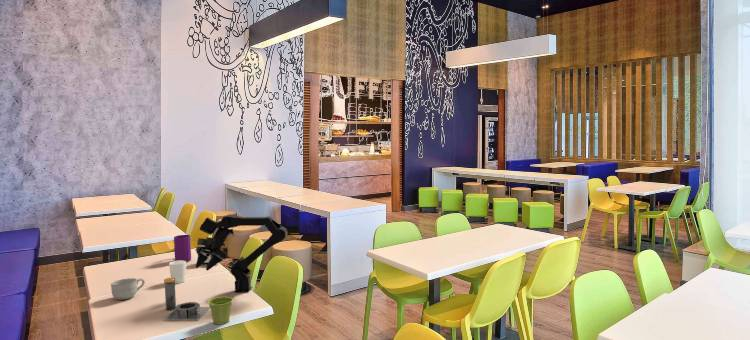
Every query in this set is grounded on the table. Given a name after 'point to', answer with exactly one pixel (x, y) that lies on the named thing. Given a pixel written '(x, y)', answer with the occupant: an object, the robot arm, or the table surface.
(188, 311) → the rosette collar
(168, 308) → the copper capped metal cylinder
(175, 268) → the white cup
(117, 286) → the teacup
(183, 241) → the purple box
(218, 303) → the plant pot
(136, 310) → the table surface
